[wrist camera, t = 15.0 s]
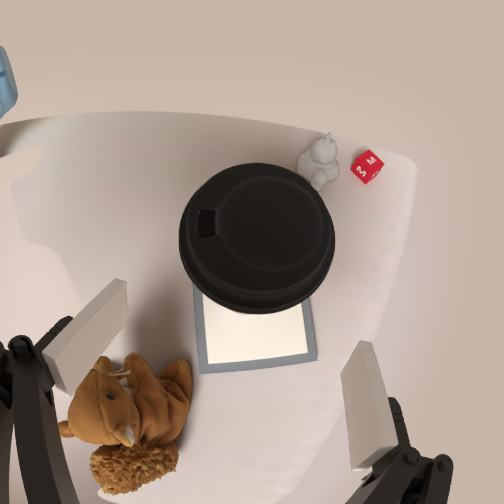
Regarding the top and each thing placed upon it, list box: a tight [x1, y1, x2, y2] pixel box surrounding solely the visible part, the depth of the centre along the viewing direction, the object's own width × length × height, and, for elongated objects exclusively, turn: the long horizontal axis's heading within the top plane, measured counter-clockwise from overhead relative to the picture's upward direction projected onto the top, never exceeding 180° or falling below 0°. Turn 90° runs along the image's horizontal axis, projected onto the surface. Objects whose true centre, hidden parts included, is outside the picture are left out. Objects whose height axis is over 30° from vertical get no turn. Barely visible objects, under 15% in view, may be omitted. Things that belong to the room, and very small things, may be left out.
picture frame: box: [193, 283, 317, 374], centre depth 29 cm, size 17×12×1 cm
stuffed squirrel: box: [58, 353, 192, 495], centre depth 18 cm, size 10×14×13 cm
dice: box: [351, 150, 384, 184], centre depth 36 cm, size 3×3×3 cm
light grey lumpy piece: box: [297, 133, 339, 191], centre depth 32 cm, size 5×7×8 cm
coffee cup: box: [179, 163, 335, 315], centre depth 22 cm, size 9×9×15 cm
